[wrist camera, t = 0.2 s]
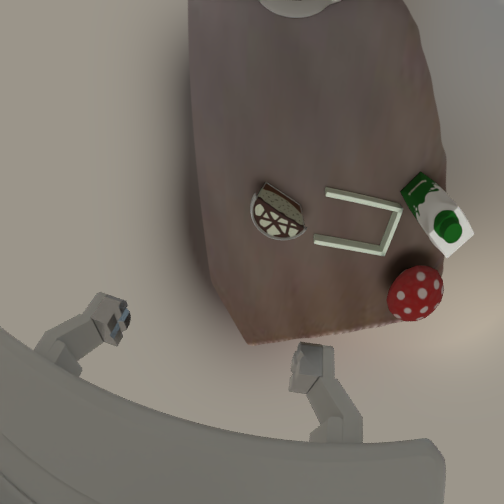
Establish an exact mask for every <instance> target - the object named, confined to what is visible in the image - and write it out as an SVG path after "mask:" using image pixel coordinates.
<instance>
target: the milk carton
mask: <svg viewBox="0 0 504 504" xmlns="http://www.w3.org/2000/svg"><path fill="white" fill-rule="evenodd" d="M400 192H401V194H402V196H403V198H404V200H405V202H406V203H407V205H408V207H409V209H410V210H411V212H412V213H413V215H414V216H415V218H416V219H417V221H418V222H419V224H420V225H421V227H422V228H423V230H424V231H425V232H426V234H427V235H428V236H429V239H430V240H431V241H432V243H433V244H434V245H435V246H436V247H437V248H438V249H439V250H440V251H441V252H442V253H443V254H444V256H445V257H446V258H448V257H449V256H450V255H451V254H453V253H454V252H455V251H456V250H457V249H458V248H459V247H461V245H463V244H464V243H465V242H466V241H467V240H468V239H469V238H470V237H471V236H472V235H474V232H473V230H472V228H471V226H470V223H469V221H468V219H467V217H466V216H465V214H464V213H463V211H462V210H461V208H460V207H458V205H457V204H456V202H455V201H454V200H453V199H452V198H451V197H450V196H449V195H448V194H447V193H446V192H445V191H444V190H443V189H442V188H441V187H440V186H439V185H438V184H437V183H435V182H434V181H433V180H432V179H430V178H429V177H427V176H426V175H424V174H423V173H422V172H420V173H419V174H418V175H417V176H416V177H415V178H414V179H413V180H412V181H411V182H410V183H409V184H408V185H407V186H406V187H405V188H404V189H403V190H402V191H400Z"/></svg>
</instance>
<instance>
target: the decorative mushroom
mask: <svg viewBox="0 0 504 504" xmlns="http://www.w3.org/2000/svg"><path fill="white" fill-rule="evenodd" d="M443 291H444V287H443V280H442V278H441V276H440V275H439V273H438V271H437V270H435V269H433V268H431V267H429V266H419V265H416V266H414V267H412V268H409V269H406V270H404V271H403V272H402V273H401V274H400V275H399V276H398V277H397V278H396V279H395V281H394V282H393V284H392V286H391V287H390V289H389V292H388V296H387V304H388V308H389V310H390V312H391V313H392V314H393V315H394V316H395V317H396V318H398V319H401V320H403V321H417V320H420V319H423V318H426V317H427V316H428V315H429V314H431V313H432V312H433V311H434V310H435V309H436V307H437V306H438V304H439V303H440V302H441V299H442V296H443Z"/></svg>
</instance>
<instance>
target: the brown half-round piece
mask: <svg viewBox="0 0 504 504" xmlns="http://www.w3.org/2000/svg"><path fill="white" fill-rule="evenodd" d="M250 212H251V218H252V220H253V223H254V224H255V226H256V227H257V229H258V230H259V231H260V232H261V233H263V234H264V235H266V236H267V237H270V238H272V239H276V240H289V239H293V238H296V237H298V236H300V235H301V234H303V233H304V232H305V231H306V230H307V227H306V228H305V224H304V218H303V213H302V208H301V205H300V204H299V203H297V202H296V201H294V200H293V199H291V198H290V197H288V196H287V195H285V194H284V193H282V192H281V191H279V190H278V189H276V188H275V187H273V186H272V185H270V184H269V183H267V182H265V184H264V186H263V187H262V189H261V190H260V192H259V194H258V195H257V197H256V193H254V195H253V197H252V200H251V204H250Z"/></svg>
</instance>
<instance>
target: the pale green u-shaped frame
mask: <svg viewBox="0 0 504 504" xmlns="http://www.w3.org/2000/svg"><path fill="white" fill-rule="evenodd" d="M325 195H326V196H327V197H332V198H337V199H342V200H347V201H351V202H356V203H361V204H365V205H370V206H374V207H378V208H383V209H387V210H391V211H393V212H392V215H391V218H390V220H389V223H388V226H387V228H386V231H385V233H384V236H383V238H382V241H381V243H380V246H379V245H374V244H369V243H364V242H358V241H353V240H347V239H342V238H336V237H331V236H325V235H320V234H314V237H313V238H314V244H318V245H324V246H330V247H336V248H341V249H347V250H353V251H358V252H364V253H369V254H375V255H380V256H385V254H386V251H387V249H388V247H389V244H390V242H391V240H392V237H393V235H394V232H395V230H396V227H397V225H398V222H399V219H400V217H401V214H402V211H403V208H402V207H401V205H400V204H399V203H395V202H391V201H387V200H383V199H379V198H375V197H371V196H366V195H362V194H357V193H353V192H348V191H343V190H339V189H334V188H329V187H326V188H325Z"/></svg>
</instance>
